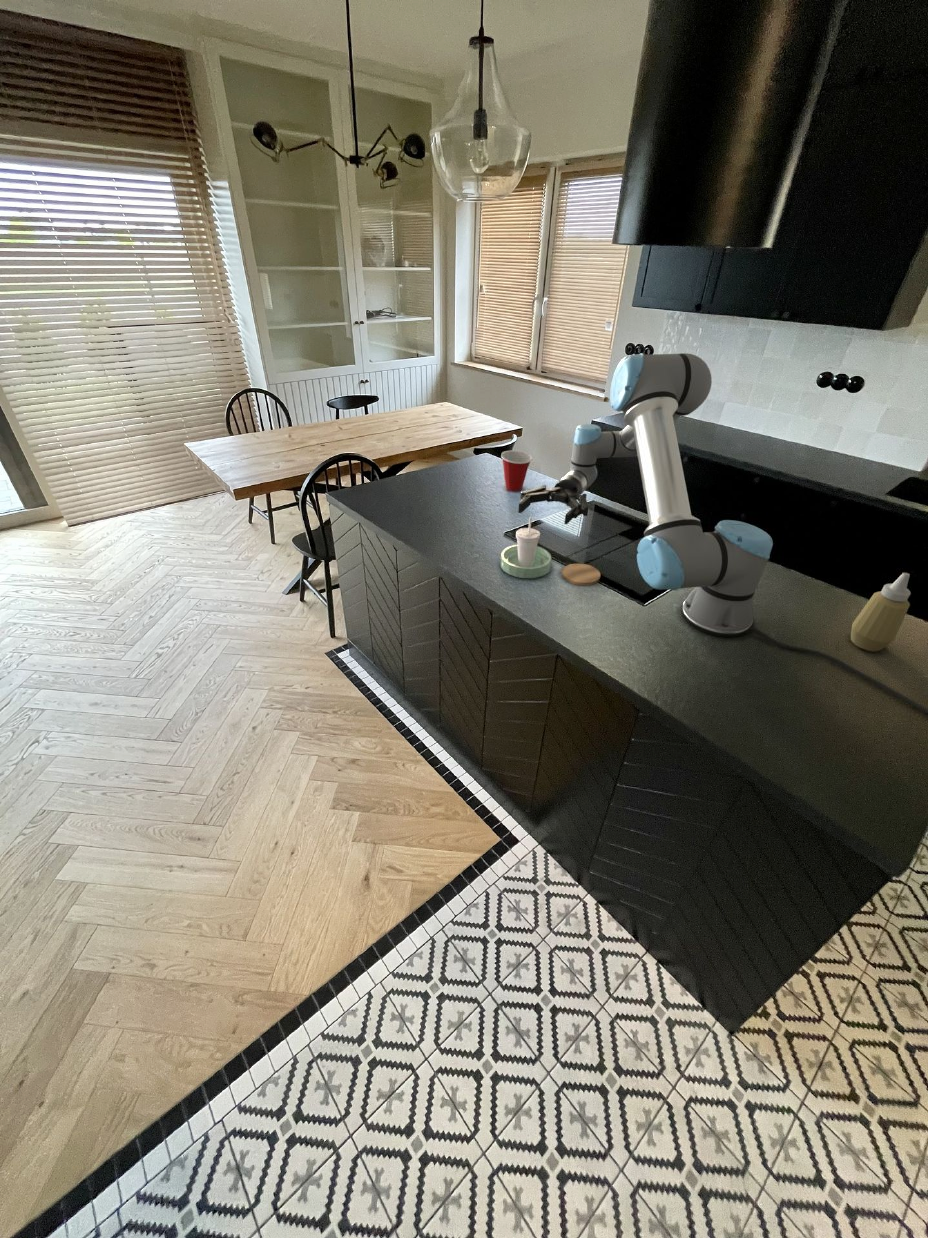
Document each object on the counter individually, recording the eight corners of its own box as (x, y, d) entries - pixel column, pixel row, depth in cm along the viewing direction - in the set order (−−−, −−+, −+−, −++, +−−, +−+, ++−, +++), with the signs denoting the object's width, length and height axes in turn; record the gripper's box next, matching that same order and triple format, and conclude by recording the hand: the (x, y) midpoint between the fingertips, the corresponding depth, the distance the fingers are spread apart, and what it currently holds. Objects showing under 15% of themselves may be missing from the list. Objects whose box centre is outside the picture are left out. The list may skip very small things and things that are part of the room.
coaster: (608, 577, 139) (608, 575, 139) (581, 589, 134) (581, 586, 134) (580, 562, 146) (580, 559, 145) (553, 572, 141) (554, 570, 141)
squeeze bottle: (887, 660, 113) (932, 588, 102) (844, 647, 116) (883, 577, 106) (887, 640, 119) (929, 571, 108) (845, 628, 122) (882, 560, 111)
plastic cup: (519, 497, 182) (521, 462, 175) (493, 489, 187) (494, 455, 180) (535, 487, 189) (538, 454, 182) (510, 480, 195) (512, 447, 187)
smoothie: (541, 563, 144) (546, 516, 136) (530, 573, 140) (535, 525, 132) (520, 557, 147) (524, 510, 139) (509, 567, 143) (512, 519, 135)
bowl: (560, 569, 143) (561, 559, 141) (522, 584, 136) (523, 573, 134) (527, 549, 151) (528, 539, 149) (490, 563, 145) (491, 552, 143)
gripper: (608, 508, 156) (584, 537, 141) (530, 491, 166) (500, 516, 151) (613, 484, 151) (588, 510, 136) (532, 467, 161) (502, 491, 146)
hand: (542, 513), depth 144 cm, fingers open, 13 cm apart
